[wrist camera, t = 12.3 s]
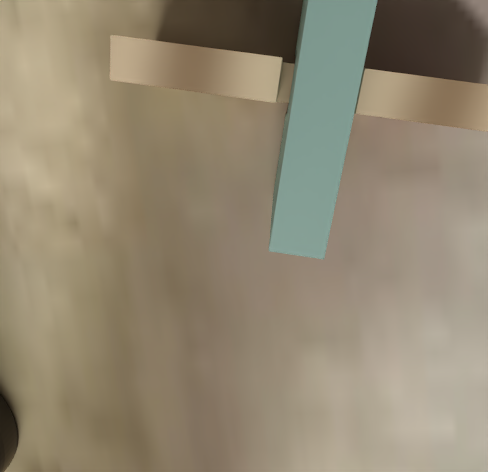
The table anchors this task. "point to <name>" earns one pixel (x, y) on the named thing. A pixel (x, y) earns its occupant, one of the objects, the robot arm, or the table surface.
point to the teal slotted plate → (318, 122)
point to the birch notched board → (280, 81)
